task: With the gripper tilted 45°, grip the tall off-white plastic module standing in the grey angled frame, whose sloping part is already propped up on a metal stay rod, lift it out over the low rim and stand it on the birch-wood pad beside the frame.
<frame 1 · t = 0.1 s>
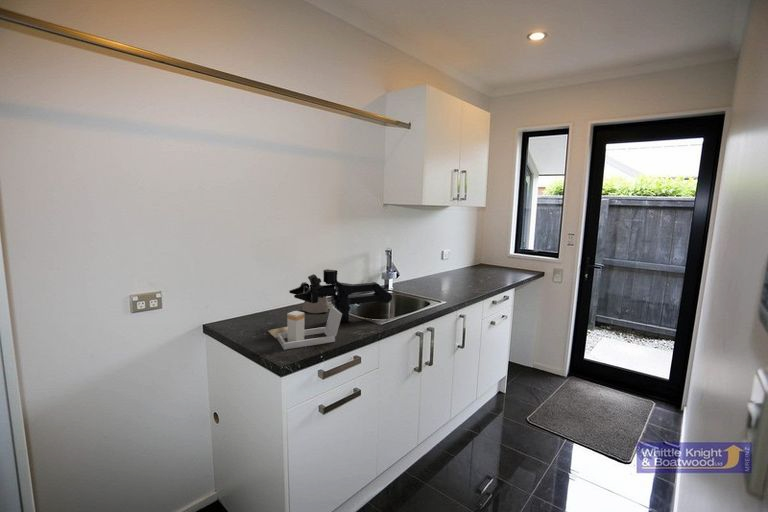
hand: (291, 294, 173), 17 cm above the countertop, fingers open, 9 cm apart
pumice stone: (316, 311, 203), on the countertop
grey angled frame: (306, 340, 161), on the countertop
pad: (282, 332, 169), on the countertop
module: (296, 342, 158), resting in grey angled frame
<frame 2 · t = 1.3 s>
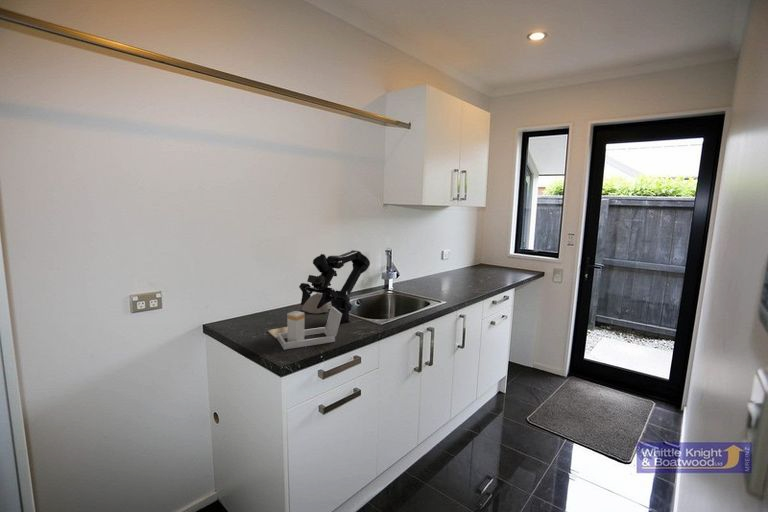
hand: (309, 306, 164), 14 cm above the countertop, fingers open, 9 cm apart
nothing on the countertop moved.
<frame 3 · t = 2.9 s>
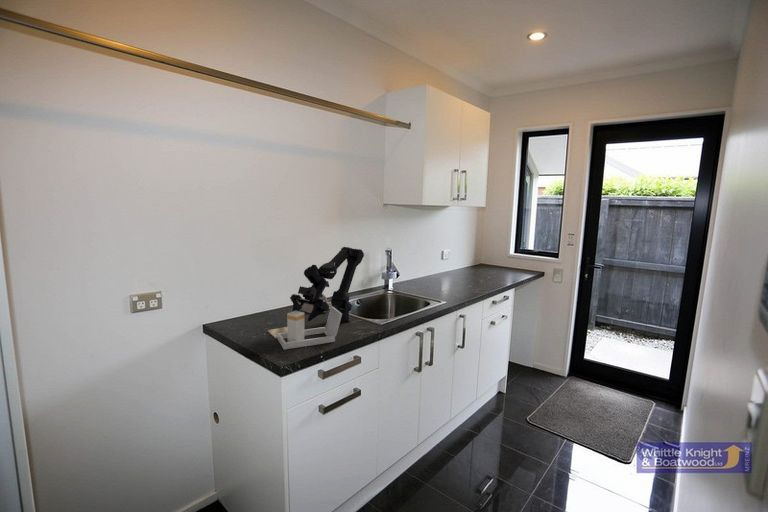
hand: (300, 319, 159), 10 cm above the countertop, fingers open, 9 cm apart
nothing on the countertop moved.
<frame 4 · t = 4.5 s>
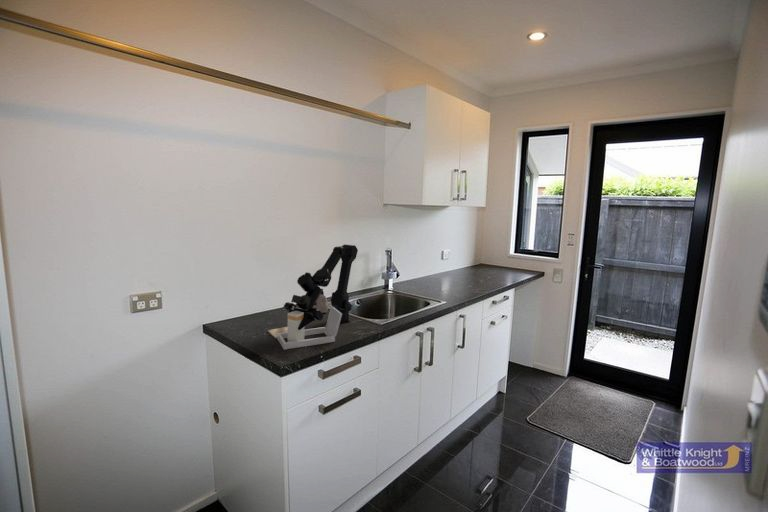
hand: (293, 328, 156), 7 cm above the countertop, fingers closed on module, 5 cm apart
module: (296, 342, 158), resting in grey angled frame, touching gripper
everything else where it was.
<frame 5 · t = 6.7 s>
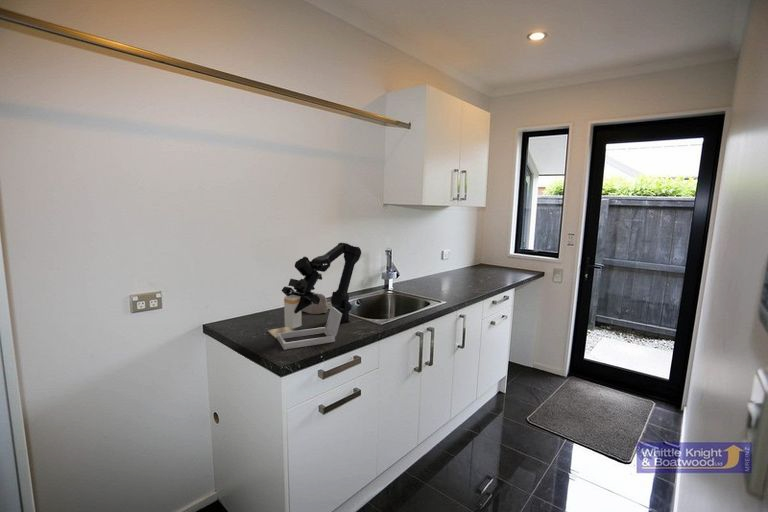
hand: (290, 311, 157), 13 cm above the countertop, fingers closed on module, 5 cm apart
module: (293, 326, 159), point 7 cm above the countertop, touching gripper
when the fingers open (8 cm above the countertop, at t = 9.2 s): module drops 1 cm, resting on pad.
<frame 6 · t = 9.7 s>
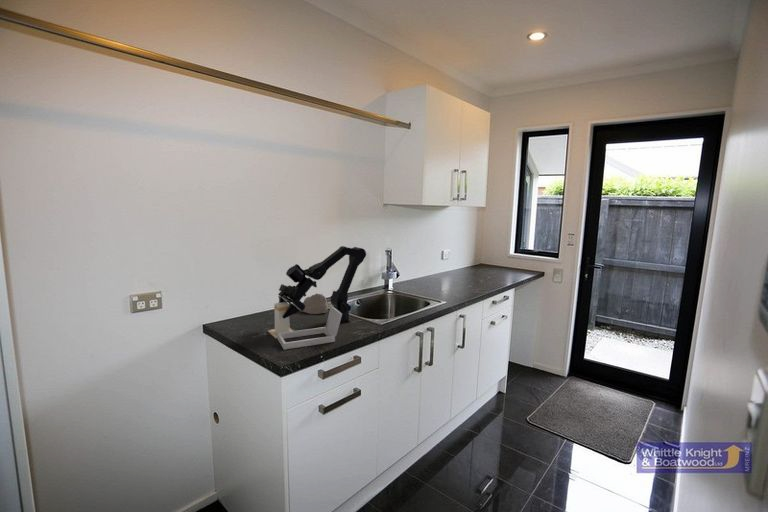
hand: (279, 315, 167), 9 cm above the countertop, fingers open, 9 cm apart
module: (282, 331, 169), point 1 cm above the countertop, touching pad
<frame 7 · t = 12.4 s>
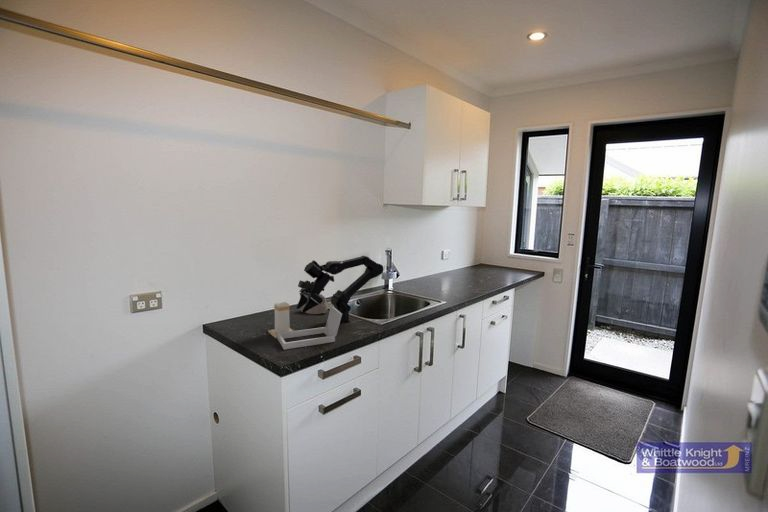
hand: (299, 310, 174), 9 cm above the countertop, fingers open, 9 cm apart
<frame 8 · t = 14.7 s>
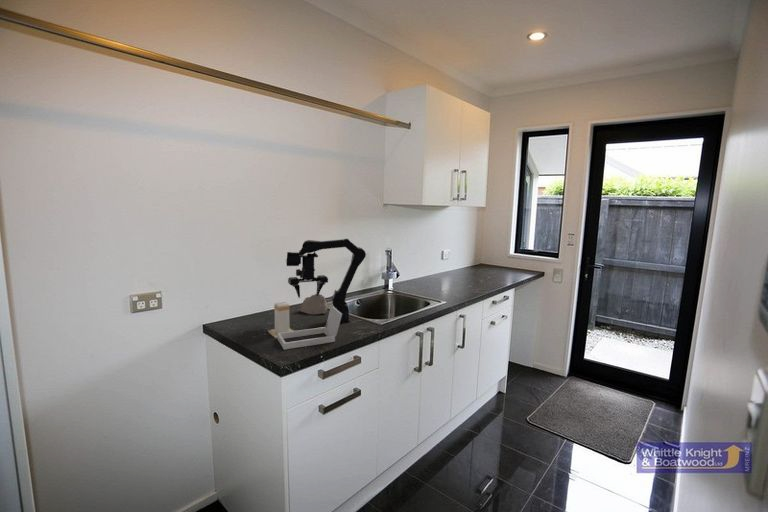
hand: (308, 297, 182), 13 cm above the countertop, fingers open, 9 cm apart
at the end: module inside the target area (0.0 cm from its centre), point 0.6 cm above the countertop; module tilted 0°; the gripper is holding nothing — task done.
